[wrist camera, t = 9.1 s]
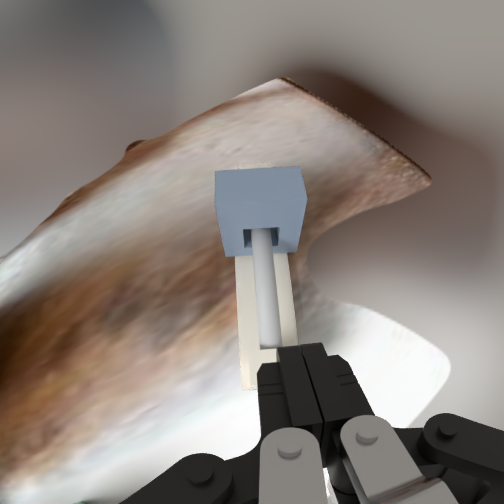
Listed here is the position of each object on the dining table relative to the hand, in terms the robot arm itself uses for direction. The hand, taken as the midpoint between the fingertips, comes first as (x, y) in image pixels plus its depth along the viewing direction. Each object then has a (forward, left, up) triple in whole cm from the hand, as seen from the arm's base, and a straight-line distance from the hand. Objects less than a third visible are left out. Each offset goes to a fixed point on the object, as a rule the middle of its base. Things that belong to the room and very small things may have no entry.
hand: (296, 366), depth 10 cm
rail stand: (0, +12, -21) cm, 24 cm away
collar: (0, +17, -19) cm, 26 cm away
